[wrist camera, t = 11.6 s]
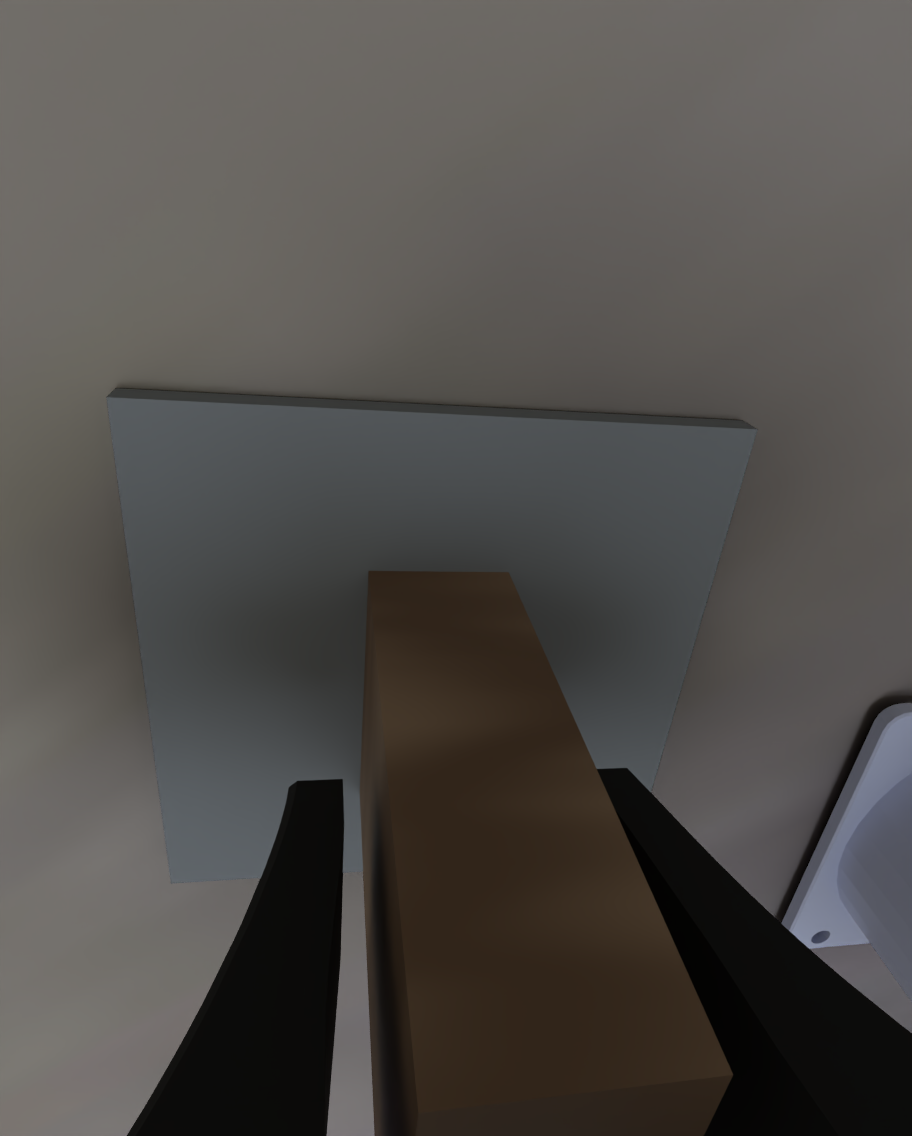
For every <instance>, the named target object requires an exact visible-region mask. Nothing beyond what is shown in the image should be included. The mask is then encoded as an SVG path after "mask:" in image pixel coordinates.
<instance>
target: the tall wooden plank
mask: <svg viewBox="0 0 912 1136" xmlns="http://www.w3.org/2000/svg"><path fill="white" fill-rule="evenodd" d="M360 813H361V836H362V858H363V881H364V903H365V926H366V949H367V971H368V994H369V1017H370V1039H371V1062H372V1085H373V1107H374V1130H375V1136H704V1134H705V1132H706V1130H707V1128H708V1126H709V1124H710V1122H711V1120H712V1118H713V1116H714V1114H715V1112H716V1110H717V1107H718V1105H719V1103H720V1101H721V1099H722V1097H723V1095H724V1093H725V1091H726V1089H727V1087H728V1085H729V1083H730V1081H731V1078H732V1076H733V1073H732V1071H731V1069H730V1066H729V1064H728V1062H727V1060H726V1057H725V1055H724V1053H723V1051H722V1048H721V1046H720V1044H719V1042H718V1040H717V1037H716V1035H715V1033H714V1031H713V1028H712V1026H711V1024H710V1022H709V1019H708V1017H707V1015H706V1013H705V1010H704V1008H703V1006H702V1004H701V1001H700V999H699V997H698V995H697V993H696V990H695V988H694V986H693V984H692V981H691V979H690V977H689V975H688V972H687V970H686V968H685V966H684V963H683V961H682V959H681V957H680V954H679V952H678V950H677V948H676V946H675V943H674V941H673V939H672V937H671V934H670V932H669V930H668V928H667V925H666V923H665V921H664V919H663V916H662V914H661V912H660V910H659V907H658V905H657V903H656V901H655V899H654V896H653V894H652V892H651V890H650V887H649V885H648V883H647V881H646V878H645V876H644V874H643V872H642V869H641V867H640V865H639V863H638V861H637V858H636V856H635V854H634V852H633V849H632V847H631V845H630V843H629V840H628V838H627V836H626V834H625V831H624V829H623V827H622V825H621V822H620V820H619V818H618V816H617V814H616V811H615V809H614V807H613V805H612V802H611V800H610V798H609V796H608V793H607V791H606V789H605V787H604V784H603V782H602V780H601V778H600V775H599V773H598V771H597V769H596V767H595V764H594V762H593V760H592V758H591V755H590V753H589V751H588V749H587V746H586V744H585V742H584V740H583V737H582V735H581V733H580V731H579V728H578V726H577V724H576V722H575V720H574V717H573V715H572V713H571V711H570V708H569V706H568V704H567V702H566V699H565V697H564V695H563V693H562V690H561V688H560V686H559V684H558V681H557V679H556V677H555V675H554V673H553V670H552V668H551V666H550V664H549V661H548V659H547V657H546V655H545V652H544V650H543V648H542V646H541V643H540V641H539V639H538V637H537V635H536V632H535V630H534V628H533V626H532V623H531V621H530V619H529V617H528V614H527V612H526V610H525V608H524V605H523V603H522V601H521V599H520V596H519V594H518V592H517V590H516V588H515V585H514V583H513V581H512V579H511V576H510V574H509V572H434V571H369V572H368V597H367V622H366V646H365V671H364V696H363V721H362V746H361V770H360Z"/></svg>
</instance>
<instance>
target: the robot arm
mask: <svg viewBox="0 0 912 1136" xmlns="http://www.w3.org/2000/svg"><path fill="white" fill-rule="evenodd" d="M597 771H598V773H599V775H600V778H601V780H602V782H603V784H604V787H605V789H606V791H607V793H608V796H609V798H610V800H611V802H612V805H613V807H614V809H615V811H616V814H617V816H618V818H619V820H620V822H621V825H622V827H623V829H624V831H625V834H626V836H627V838H628V840H629V843H630V845H631V847H632V849H633V852H634V854H635V856H636V858H637V861H638V863H639V865H640V867H641V869H642V872H643V874H644V876H645V878H646V881H647V883H648V885H649V887H650V890H651V892H652V894H653V896H654V899H655V901H656V903H657V905H658V907H659V910H660V912H661V914H662V916H663V919H664V921H665V923H666V925H667V928H668V930H669V932H670V934H671V937H672V939H673V941H674V943H675V946H676V948H677V950H678V952H679V954H680V957H681V959H682V961H683V963H684V966H685V968H686V970H687V972H688V975H689V977H690V979H691V981H692V984H693V986H694V988H695V990H696V993H697V995H698V997H699V999H700V1001H701V1004H702V1006H703V1008H704V1010H705V1013H706V1015H707V1017H708V1019H709V1022H710V1024H711V1026H712V1028H713V1031H714V1033H715V1035H716V1037H717V1040H718V1042H719V1044H720V1046H721V1048H722V1051H723V1053H724V1055H725V1057H726V1060H727V1062H728V1064H729V1066H730V1069H731V1071H732V1073H733V1076H732V1078H731V1081H730V1083H729V1085H728V1087H727V1089H726V1091H725V1093H724V1095H723V1097H722V1099H721V1101H720V1103H719V1105H718V1107H717V1110H716V1112H715V1114H714V1116H713V1118H712V1120H711V1122H710V1124H709V1126H708V1128H707V1130H706V1132H705V1134H704V1136H912V1033H910V1032H909V1031H908V1030H907V1029H905V1028H904V1027H903V1026H901V1025H900V1024H899V1023H898V1022H896V1021H895V1020H894V1019H893V1018H891V1017H890V1016H889V1015H888V1014H887V1013H885V1012H884V1011H883V1010H882V1009H880V1008H879V1007H878V1006H877V1005H875V1004H874V1003H873V1002H872V1001H870V1000H869V999H868V998H867V997H865V996H864V995H863V994H862V993H861V992H859V991H858V990H857V989H856V988H854V987H853V986H852V985H851V984H849V983H848V982H847V981H846V980H845V979H843V978H842V977H841V976H840V975H839V974H838V973H836V972H835V971H834V970H833V969H832V968H830V967H829V966H828V965H827V964H826V963H825V962H823V961H822V960H821V959H820V958H819V957H818V956H817V955H815V954H814V953H813V952H812V951H811V950H810V949H811V948H822V947H833V946H844V945H855V944H866V943H870V944H871V945H872V946H873V948H874V949H875V951H876V952H877V954H878V955H879V956H880V958H881V959H882V961H883V962H884V964H885V965H886V966H887V968H888V969H889V971H890V972H891V973H892V975H893V976H894V978H895V979H896V981H897V982H898V983H899V985H900V986H901V988H902V989H903V991H904V992H905V993H906V995H907V996H908V998H909V999H910V1001H911V1002H912V703H900V704H895V705H891V706H889V707H887V708H885V709H884V710H883V711H882V712H880V713H879V714H878V716H877V717H876V719H875V720H874V722H873V725H872V727H871V729H870V731H869V733H868V736H867V738H866V740H865V742H864V744H863V746H862V749H861V751H860V753H859V755H858V757H857V759H856V762H855V764H854V766H853V768H852V770H851V773H850V775H849V777H848V779H847V781H846V783H845V786H844V788H843V790H842V792H841V794H840V797H839V799H838V801H837V803H836V805H835V807H834V810H833V812H832V814H831V816H830V818H829V820H828V823H827V825H826V827H825V829H824V831H823V834H822V836H821V838H820V840H819V842H818V844H817V847H816V849H815V851H814V853H813V855H812V858H811V860H810V862H809V864H808V866H807V868H806V871H805V873H804V875H803V877H802V879H801V881H800V884H799V886H798V888H797V890H796V892H795V895H794V897H793V899H792V901H791V903H790V905H789V908H788V910H787V912H786V914H785V916H784V919H783V921H782V923H780V922H779V921H778V920H777V919H776V918H775V917H773V916H772V915H771V914H770V913H769V912H768V911H767V910H766V909H765V908H764V907H763V906H762V905H761V904H760V903H759V902H758V901H757V900H756V899H755V898H753V897H752V896H751V895H750V894H749V893H748V892H747V891H746V890H745V889H744V888H743V887H742V886H741V885H740V884H739V883H738V882H737V881H736V880H735V879H734V878H733V877H732V876H731V875H730V874H729V873H728V872H727V871H726V870H725V869H724V868H723V867H722V866H721V865H720V864H719V863H718V862H717V861H716V860H715V859H714V858H713V857H712V856H711V855H710V854H709V853H708V852H707V851H706V850H705V849H704V848H703V847H702V846H701V845H700V844H699V843H698V842H697V841H696V840H695V839H694V838H693V836H692V835H691V834H690V833H689V832H688V831H687V830H686V829H685V828H684V827H683V826H682V825H681V824H680V823H679V822H678V821H677V820H676V819H675V818H674V817H673V816H672V814H671V813H670V812H669V811H668V810H667V809H666V808H665V807H664V806H663V805H662V804H661V803H660V802H659V801H658V800H657V799H656V798H655V797H654V795H653V794H652V793H651V792H650V791H649V790H648V789H647V788H646V787H645V786H644V785H643V784H642V783H641V782H640V781H639V780H638V779H637V778H636V777H635V776H634V774H633V773H632V772H631V771H630V770H629V769H628V768H608V769H597ZM343 851H344V798H343V779H329V780H304V781H296V782H295V783H294V784H292V785H291V786H290V787H289V788H288V794H287V799H286V804H285V808H284V812H283V816H282V819H281V823H280V826H279V829H278V832H277V835H276V838H275V841H274V844H273V847H272V850H271V852H270V855H269V858H268V861H267V863H266V866H265V869H264V871H263V874H262V876H261V879H260V881H259V883H258V886H257V888H256V891H255V893H254V895H253V898H252V900H251V902H250V905H249V907H248V910H247V912H246V914H245V917H244V919H243V921H242V924H241V926H240V928H239V930H238V932H237V935H236V937H235V939H234V941H233V943H232V945H231V947H230V949H229V951H228V953H227V955H226V957H225V959H224V961H223V963H222V965H221V967H220V969H219V971H218V973H217V976H216V978H215V980H214V982H213V984H212V986H211V988H210V990H209V992H208V994H207V996H206V998H205V1000H204V1002H203V1004H202V1006H201V1008H200V1009H199V1011H198V1013H197V1015H196V1017H195V1019H194V1021H193V1022H192V1024H191V1026H190V1028H189V1030H188V1032H187V1034H186V1036H185V1037H184V1039H183V1041H182V1043H181V1045H180V1046H179V1048H178V1050H177V1052H176V1054H175V1055H174V1057H173V1059H172V1061H171V1062H170V1064H169V1066H168V1068H167V1069H166V1071H165V1073H164V1075H163V1076H162V1078H161V1080H160V1081H159V1083H158V1085H157V1087H156V1088H155V1090H154V1092H153V1094H152V1095H151V1097H150V1099H149V1100H148V1102H147V1104H146V1105H145V1107H144V1109H143V1110H142V1112H141V1114H140V1115H139V1117H138V1118H137V1120H136V1122H135V1123H134V1125H133V1127H132V1128H131V1130H130V1131H129V1133H128V1135H127V1136H326V1134H327V1121H328V1109H329V1096H330V1084H331V1071H332V1059H333V1046H334V1034H335V1021H336V1008H337V996H338V983H339V970H340V956H341V921H342V886H343Z"/></svg>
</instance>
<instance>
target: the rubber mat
mask: <svg viewBox="0 0 912 1136" xmlns="http://www.w3.org/2000/svg"><path fill="white" fill-rule="evenodd" d="M106 398H107V405H108V413H109V420H110V428H111V436H112V443H113V451H114V458H115V466H116V473H117V481H118V488H119V496H120V503H121V511H122V518H123V526H124V533H125V541H126V548H127V556H128V563H129V571H130V578H131V586H132V594H133V601H134V609H135V616H136V624H137V631H138V639H139V646H140V654H141V661H142V669H143V676H144V684H145V691H146V699H147V706H148V714H149V721H150V729H151V736H152V744H153V752H154V759H155V767H156V774H157V782H158V789H159V797H160V804H161V812H162V819H163V827H164V834H165V842H166V849H167V857H168V864H169V872H170V879H171V883H184V882H200V881H216V880H233V879H249V878H261V876H262V874H263V871H264V869H265V866H266V863H267V861H268V858H269V855H270V852H271V850H272V847H273V844H274V841H275V838H276V835H277V832H278V829H279V826H280V823H281V819H282V816H283V812H284V808H285V804H286V799H287V794H288V788H289V787H290V786H291V785H292V784H294V783H295V782H296V781H304V780H329V779H343V798H344V851H343V873H346V872H362V871H363V858H362V836H361V813H360V770H361V746H362V721H363V696H364V671H365V646H366V622H367V597H368V572H369V571H434V572H509V574H510V576H511V579H512V581H513V583H514V585H515V588H516V590H517V592H518V594H519V596H520V599H521V601H522V603H523V605H524V608H525V610H526V612H527V614H528V617H529V619H530V621H531V623H532V626H533V628H534V630H535V632H536V635H537V637H538V639H539V641H540V643H541V646H542V648H543V650H544V652H545V655H546V657H547V659H548V661H549V664H550V666H551V668H552V670H553V673H554V675H555V677H556V679H557V681H558V684H559V686H560V688H561V690H562V693H563V695H564V697H565V699H566V702H567V704H568V706H569V708H570V711H571V713H572V715H573V717H574V720H575V722H576V724H577V726H578V728H579V731H580V733H581V735H582V737H583V740H584V742H585V744H586V746H587V749H588V751H589V753H590V755H591V758H592V760H593V762H594V764H595V767H596V769H608V768H628V769H629V770H630V771H631V772H632V773H633V774H634V776H635V777H636V778H637V779H638V780H639V781H640V782H641V783H642V784H643V785H644V786H645V787H646V788H647V789H648V790H649V791H650V792H651V790H652V787H653V784H654V780H655V777H656V773H657V770H658V767H659V763H660V760H661V756H662V753H663V750H664V746H665V743H666V739H667V736H668V732H669V729H670V726H671V722H672V719H673V715H674V712H675V709H676V705H677V702H678V698H679V695H680V692H681V688H682V685H683V681H684V678H685V675H686V671H687V668H688V664H689V661H690V658H691V654H692V651H693V647H694V644H695V641H696V637H697V634H698V630H699V627H700V624H701V620H702V617H703V613H704V610H705V607H706V603H707V600H708V596H709V593H710V590H711V586H712V583H713V579H714V576H715V572H716V569H717V566H718V562H719V559H720V555H721V552H722V549H723V545H724V542H725V538H726V535H727V532H728V528H729V525H730V521H731V518H732V515H733V511H734V508H735V504H736V501H737V498H738V494H739V491H740V487H741V484H742V481H743V477H744V474H745V470H746V467H747V464H748V460H749V457H750V453H751V450H752V447H753V443H754V440H755V436H756V433H757V430H758V429H756V428H754V427H753V426H751V425H749V424H748V423H746V422H744V421H743V420H724V419H704V418H685V417H666V416H646V415H627V414H607V413H588V412H568V411H549V410H529V409H510V408H491V407H471V406H452V405H432V404H413V403H393V402H374V401H355V400H335V399H316V398H296V397H277V396H257V395H238V394H219V393H199V392H180V391H160V390H141V389H121V388H115V389H114V390H113V391H112V392H111V393H110V394H109V395H108V396H107V397H106Z"/></svg>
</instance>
